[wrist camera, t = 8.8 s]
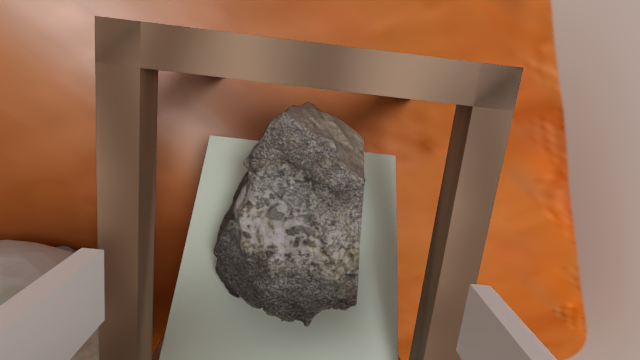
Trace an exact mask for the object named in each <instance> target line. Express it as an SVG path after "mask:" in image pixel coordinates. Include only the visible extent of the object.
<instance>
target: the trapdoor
mask: <svg viewBox="0 0 640 360" xmlns="http://www.w3.org/2000/svg"><path fill="white" fill-rule="evenodd" d="M258 142H259V141H257V140H248V139H239V138H229V137H220V136H211V135H210V138H209V142H208V147H207V151H206V156H205V160H204V164H203V169H202V173H201V178H200V182H199V186H198V191H197V195H196V200H195V204H194V208H193V213H192V217H191V221H190V226H189V230H188V235H187V239H186V243H185V248H184V252H183V257H182V261H181V265H180V270H179V274H178V279H177V283H176V287H175V292H174V296H173V301H172V305H171V309H170V314H169V318H168V323H167V327H166V331H165V336H164V340H163V345H162V349H161V353H160V358H159V360H398V303H397V226H396V155H386V154H377V153H368V152H364V173H365V176H364V178H366V181H365V185H364V199H363V209H362V225H361V237H360V254H359V275H358V280H359V282H358V295H357V305H356V306H351V307H349V308H348V309H347V310H340V309H337V310H336V309H332V308H330V309H329V310H328V309H326V310H322V311H321V312H320V313H318V314H317V315H316V316H315V317H314V318H313V319H312V321H311V323H310V325H309V326H308V327H305V326H304V323H303V322H302V321H298V320H294V321H293V322H288V321H281V319H279V318H277V317H276V316H270V315H267V314H266V312H265V311H264V310H263V308H261V309H257V308H253V307H251V306H250V305H249V304H247V303H246V302H245V301H244V300H243V299H242V297H240V298H237V297H234V296H233V295H231V294H229V290H228V289H226V287H225V286H224V284H223V282H222V281H221V279H220V278H219V276H218V274H216V269H215V266H216V264H217V258H216V257H215V255H214V253H213V251H214V248H215V245H216V242H217V236H218V232H219V230H220V225H221V223H222V220H223V218H224V216H225V214H226V213H227V212H228V210H229V209H230V207H231V205H232V203H233V197H234V195H235V192H236V190H237V188H238V186H239V184H240V182H241V181H242V178H243V177H244V175H245V174H246V172H247V171H248V169H247V168H246V167H245V166H244V164H243V162H244V161H245V159H246V158H247V156H248V155H249V154H250V153H251V151H252V149H253V147H254V146H255V145H256V144H258ZM237 294H238V293H237ZM239 296H240V295H239Z"/></svg>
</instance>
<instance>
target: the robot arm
mask: <svg viewBox="0 0 640 360" xmlns="http://www.w3.org/2000/svg"><path fill="white" fill-rule="evenodd" d="M104 320H105V298H104V250H101V249H91V248H81V249H79V250H78V251H76V252H75V253H74V254H72V255H71V256H69V257H68V258H66V259H65V260H64V261H62V262H61V263H59V264H58V265H57V266H55V267H54V268H52V269H51V270H50V271H48V272H47V273H45V274H44V275H43V276H41V277H40V278H38V279H37V280H36V281H34V282H33V283H31V284H30V285H29V286H27V287H26V288H24V289H23V290H22V291H20V292H19V293H17V294H16V295H15V296H13V297H12V298H10V299H9V300H7V301H6V302H5V303H3V304H2V305H0V360H70V359H71V358H72V357H73V356H74V354H75V353H76V352H77V351H78V350H79V349H80V348H81V346H82V345H83V344H84V343H85V342H86V341H87V340H88V338H89V337H90V336H91V335H92V334H93V333H94V332H95V330H96V329H97V328H98V327H99V326H100V325H101V324H102V322H103V321H104ZM456 351H457V353H458V354H459V356H460V358H461V360H557V359H556V358H555V357H554V356H553V355H552V354H551V353H550V352H549V350H548V349H547V348H546V347H545V346H544V345H543V344H542V343H541V341H540V340H539V339H538V338H537V337H536V336H535V335H534V334H533V333H532V331H531V330H530V329H529V328H528V327H527V326H526V325H525V324H524V323H523V321H522V320H521V319H520V318H519V317H518V316H517V315H516V314H515V313H514V311H513V310H512V309H511V308H510V307H509V306H508V305H507V304H506V303H505V301H504V300H503V299H502V298H501V297H500V296H499V295H498V294H497V292H496V291H495V290H494V289H493V288H492V287H491V286H486V285H475V284H470V287H469V292H468V297H467V301H466V306H465V311H464V315H463V320H462V324H461V329H460V334H459V338H458V343H457V348H456Z"/></svg>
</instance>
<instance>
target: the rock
mask: <svg viewBox="0 0 640 360" xmlns="http://www.w3.org/2000/svg"><path fill="white" fill-rule="evenodd" d="M243 164H244V166H245V167H246V168H247V169H248V171H247V172H246V174H245V175H244V177H243V178H242V181H241V182H240V184H239V186H238V188H237V190H236V192H235V195H234V197H233V203H232V205H231V207H230V209H229V210H228V212H227V213H226V214H225V216H224V218H223V220H222V223H221V225H220V230H219V232H218V236H217V242H216V245H215V248H214V251H213V253H214V255H215V257H216V258H217V264H216V266H215V269H216V274H218V276H219V278H220V279H221V281H222V282H223V284H224V286H225V287H226V289H228V290H229V294H231V295H233V296H234V297H237V298H240V297H242V299H243V300H244V301H245V302H246V303H247V304H249V305H250V306H251V307H253V308H257V309H261V308H263V310H264V311H265V312H266V314H267V315H270V316H276V317H277V318H279V319H281V321H288V322H293V321H294V320H298V321H302V322H303V323H304V326H305V327H308V326H309V325H310V323H311V321H312V319H313V318H314V317H315V316H316V315H317V314H318V313H320V312H321V311H322V310H326V309H328V310H329V309H330V308H332V309H336V310H337V309H340V310H347V309H348V308H349V307H351V306H356V305H357V295H358V282H359V280H358V275H359V254H360V237H361V225H362V209H363V199H364V185H365V181H366V178H364V176H365V173H364V139H363V138H362V137H361V136H360V135H359V134H358V133H357V132H356V131H354V130H353V129H352V128H351V127H350V126H348V125H347V124H346V123H345V122H344V121H342V120H340V119H339V118H337V117H335V116H334V115H332V114H329V113H325V112H321V111H320V110H319V109H318V108H317V107H316V106H315V105H313V104H311V103H309V102H306V103H304V104H303V105H301V106H294V105H293V106H291V107H289V108H288V109H287V110H286V111H285V112H283V113H282V114H280V115H278V116H277V117H276V118H275V119H274V120H272V121H271V122H270V123H269V125H268V127H267V128H266V130H265V133H264V135H263V136H262V138H261V139H260V141H259V142H258V144H256V145H255V146H254V147H253V149H252V151H251V153H250V154H249V155H248V156H247V158H246V159H245V161H244V162H243ZM237 293H238V294H237ZM239 295H240V296H239Z"/></svg>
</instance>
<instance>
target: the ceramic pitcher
mask: <svg viewBox="0 0 640 360" xmlns="http://www.w3.org/2000/svg"><path fill="white" fill-rule="evenodd" d="M75 252H76V250H74V249H72V248H70V247H68V246H60V247H52V246H48V245H44V244H40V243H35V242H27V241H16V240H0V305H2V304H3V303H5V302H6V301H7V300H9V299H10V298H12V297H13V296H15V295H16V294H17V293H19V292H20V291H22V290H23V289H24V288H26V287H27V286H29V285H30V284H31V283H33V282H34V281H36V280H37V279H38V278H40V277H41V276H43V275H44V274H45V273H47V272H48V271H50V270H51V269H52V268H54V267H55V266H57V265H58V264H59V263H61V262H62V261H64V260H65V259H66V258H68V257H69V256H71V255H72V254H74V253H75ZM70 360H99V327H98V328H97V329H96V330H95V332H94V333H93V334H92V335H91V336H90V337H89V338H88V340H87V341H86V342H85V343H84V344H83V345H82V346H81V348H80V349H79V350H78V351H77V352H76V353H75V354H74V356H73V357H72V358H71V359H70Z"/></svg>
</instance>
